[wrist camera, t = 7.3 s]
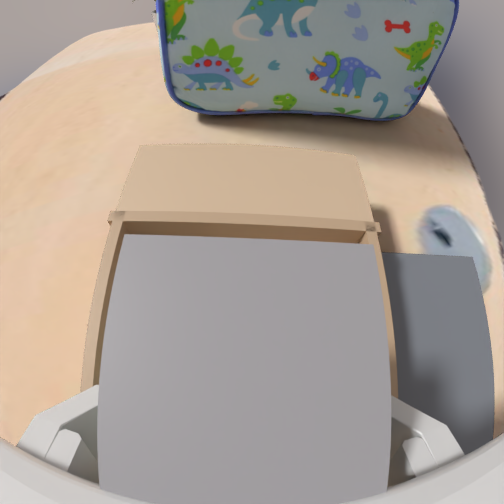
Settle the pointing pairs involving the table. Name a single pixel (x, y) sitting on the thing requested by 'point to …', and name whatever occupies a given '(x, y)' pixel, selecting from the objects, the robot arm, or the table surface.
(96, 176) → the table surface
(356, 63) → the lunch box
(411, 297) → the slate mat
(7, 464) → the robot arm
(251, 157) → the open cardboard box
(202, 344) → the block
